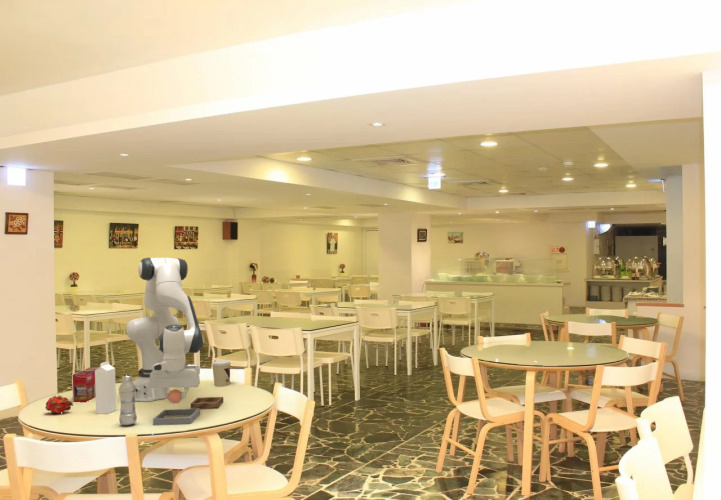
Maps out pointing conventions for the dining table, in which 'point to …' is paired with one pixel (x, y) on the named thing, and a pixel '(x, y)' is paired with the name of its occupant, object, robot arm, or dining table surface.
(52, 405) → the dragon fruit
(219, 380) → the coffee cup
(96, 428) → the dining table surface
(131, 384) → the plastic bottle
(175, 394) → the ball
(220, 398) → the tray
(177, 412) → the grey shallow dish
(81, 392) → the ice cream box
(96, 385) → the milk
